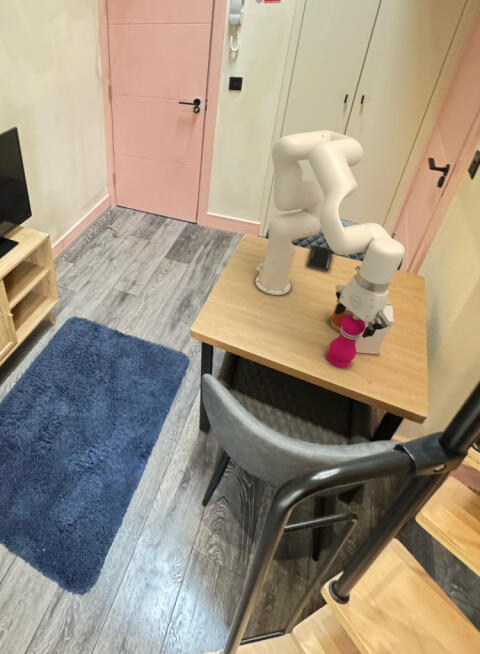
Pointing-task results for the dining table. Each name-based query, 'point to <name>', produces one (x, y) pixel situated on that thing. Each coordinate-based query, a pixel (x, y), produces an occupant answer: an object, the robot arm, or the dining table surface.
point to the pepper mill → (346, 341)
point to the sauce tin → (339, 318)
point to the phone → (320, 258)
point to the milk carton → (375, 335)
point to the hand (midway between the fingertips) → (352, 323)
